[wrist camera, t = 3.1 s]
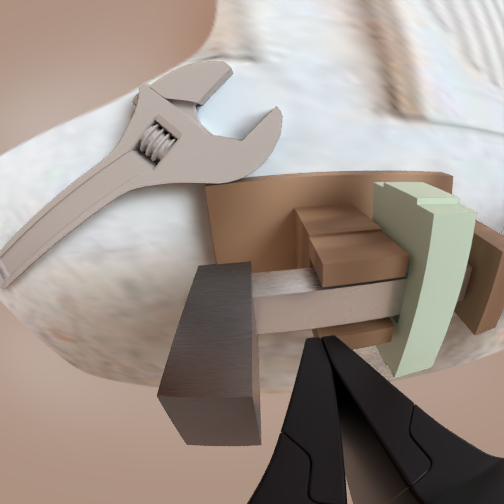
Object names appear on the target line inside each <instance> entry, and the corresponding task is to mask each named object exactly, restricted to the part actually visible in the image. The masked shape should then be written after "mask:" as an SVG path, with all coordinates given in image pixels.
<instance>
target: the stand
mask: <svg viewBox="0 0 504 504" xmlns="http://www.w3.org/2000/svg"><path fill="white" fill-rule="evenodd" d="M374 182H424V183H426V184H428V185H431V186H433V187H436V188H438V189H441V190H443V191H445V192H447V193H450V194H452V185H453V176H451V175H448V174H445V173H442V172H424V171H338V172H315V173H297V174H283V175H270V176H259V177H248V178H241V179H238V180H235V181H231V182H227V183H220V184H218V183H207V184H206V185H205V193H206V200H207V207H208V214H209V220H210V226H211V233H212V239H213V245H214V251H215V257H216V263H217V264H226V263H237V262H248V261H251V263H252V272H253V273H261V272H272V271H282V270H293V269H303V268H313V267H314V268H315V271H316V273H317V275H318V278H319V280H320V282H321V285H322V287H330V286H339V285H347V284H355V283H362V282H370V281H377V280H384V279H391V278H398V277H405V276H406V271H407V265H408V259H409V254H407V253H406V252H405V251H404V250H403V249H402V248H401V247H400V246H399V245H398V244H396V243H395V242H394V241H393V240H392V239H391V238H390V237H389V236H387V235H386V234H385V233H384V232H383V229H382V228H381V227H380V226H379V225H378V224H376V223H375V222H374V221H373V188H374ZM468 264H469V265H470V266H471V267H472V271H471V275H470V279H469V282H468V286H467V289H466V293H465V296H464V299H463V300H461V301H457V303H456V306H455V309H454V312H455V313H456V314H457V315H458V316H459V317H460V319H461V320H462V321H463V322H464V323H465V324H466V326H467V327H468V328H469V329H470V330H471V332H472V333H473V334H474V335H477V334H480V333H482V332H485V331H487V330H490V329H492V328H494V327H496V324H497V322H498V320H499V317H500V315H501V312H502V310H503V307H504V236H502V235H501V234H499V233H497V232H496V231H494V230H493V229H491V228H489V227H487V226H486V225H484V224H482V223H481V222H479V221H477V220H476V221H475V227H474V233H473V239H472V244H471V249H470V254H469V258H468ZM394 328H395V326H394V325H393V323H392V321H391V320H390V318H389V317H385V318H379V319H374V320H368V321H362V322H356V323H349V324H343V325H336V326H329V327H321V328H314V329H312V332H313V335H314V337H320V338H321V337H322V336H328V335H335V336H337V337H338V338H339V339H340V340H341V341H343V342H344V343H345V344H346V345H347V346H348V347H349V348H351V349H352V350H353V349H358V348H364V347H369V346H374V345H379V344H384V343H388V342H391V339H392V336H393V332H394Z"/></svg>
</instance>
